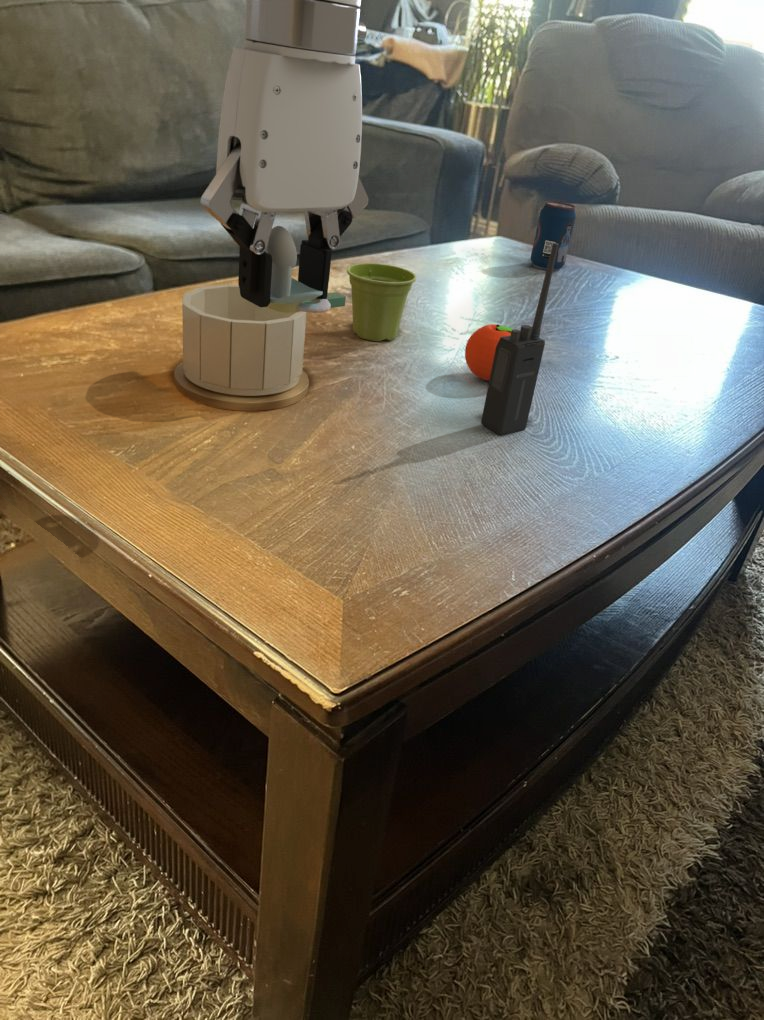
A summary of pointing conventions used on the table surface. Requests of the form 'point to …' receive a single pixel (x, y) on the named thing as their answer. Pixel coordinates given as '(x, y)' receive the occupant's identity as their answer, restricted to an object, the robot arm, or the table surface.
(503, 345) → the walkie-talkie
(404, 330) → the table surface
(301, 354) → the pot
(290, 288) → the pacifier
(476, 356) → the clementine
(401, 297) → the plant pot
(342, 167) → the robot arm
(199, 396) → the disc
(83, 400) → the table surface
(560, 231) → the soda can
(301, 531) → the table surface
